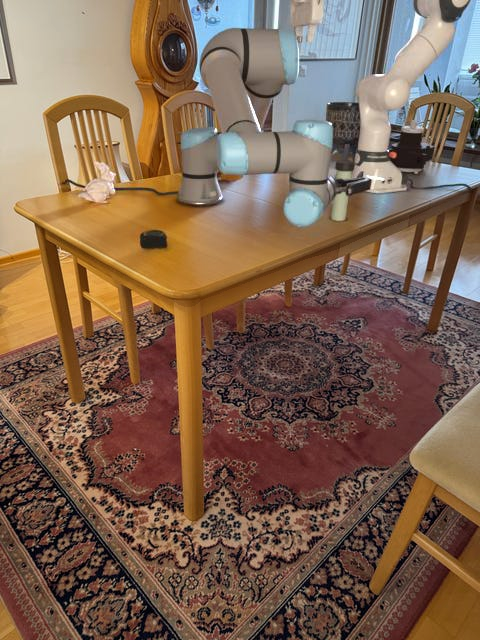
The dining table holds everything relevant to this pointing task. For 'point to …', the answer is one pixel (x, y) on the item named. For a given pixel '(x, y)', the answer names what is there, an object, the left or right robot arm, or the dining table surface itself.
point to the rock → (341, 150)
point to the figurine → (99, 185)
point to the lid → (345, 165)
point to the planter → (344, 126)
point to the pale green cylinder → (340, 199)
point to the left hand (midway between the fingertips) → (335, 174)
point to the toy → (228, 176)
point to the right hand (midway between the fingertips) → (304, 42)
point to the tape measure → (153, 239)
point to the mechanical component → (411, 149)
